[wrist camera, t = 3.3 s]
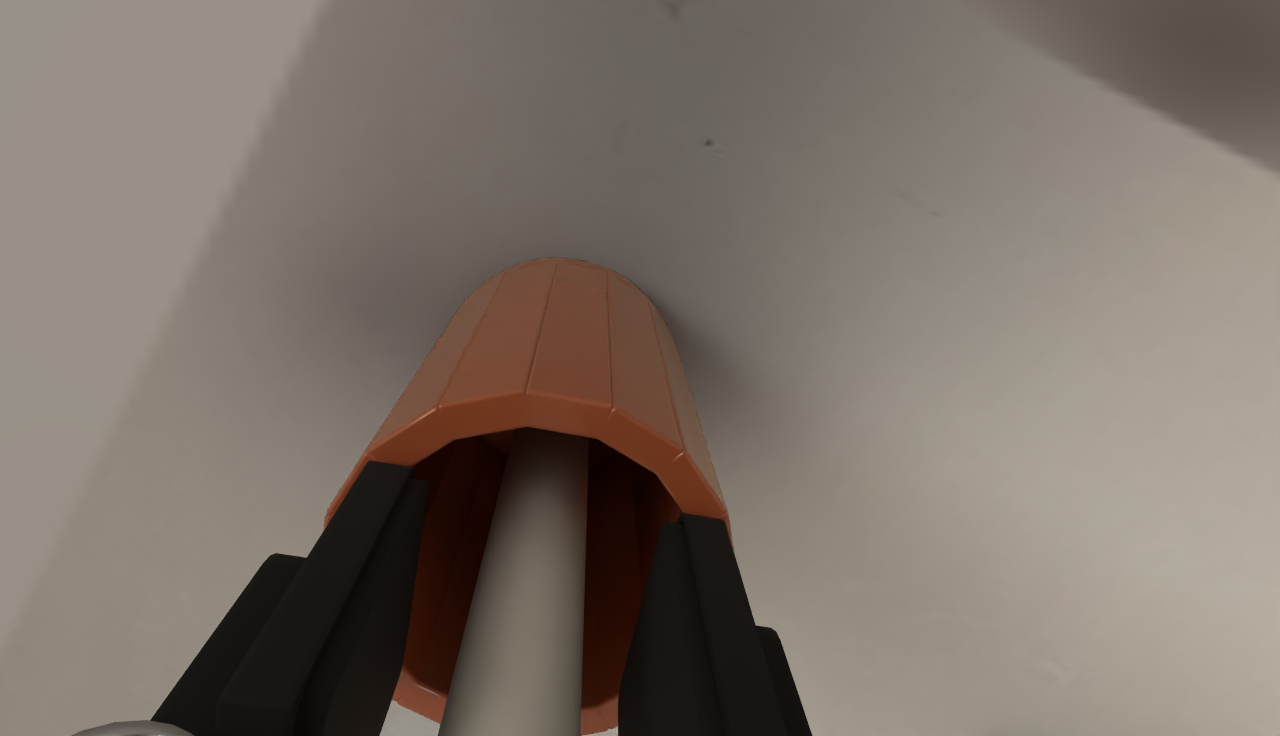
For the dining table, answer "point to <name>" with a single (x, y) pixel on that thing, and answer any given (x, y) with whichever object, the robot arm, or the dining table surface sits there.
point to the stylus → (528, 599)
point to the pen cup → (556, 401)
